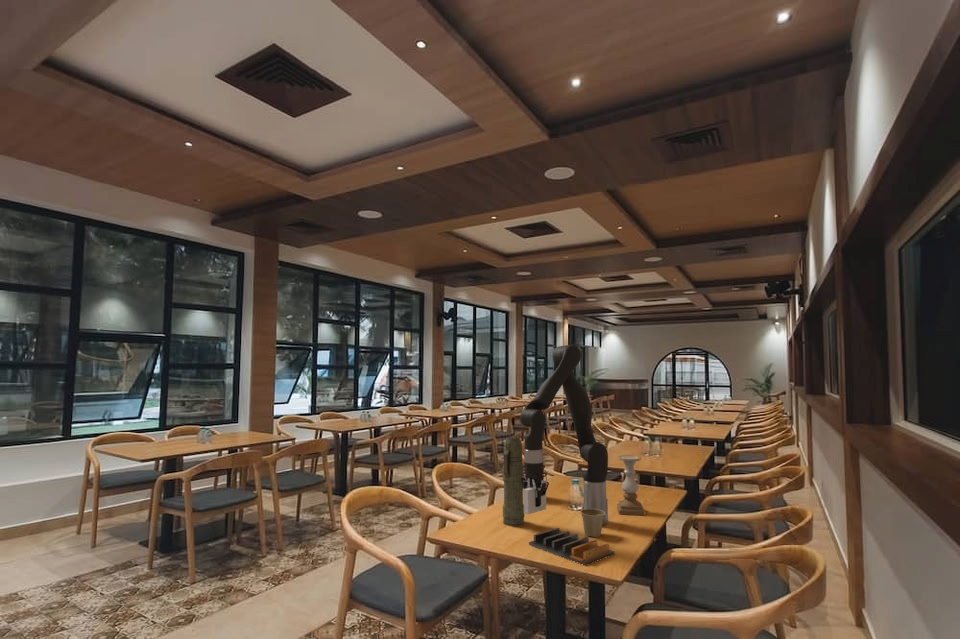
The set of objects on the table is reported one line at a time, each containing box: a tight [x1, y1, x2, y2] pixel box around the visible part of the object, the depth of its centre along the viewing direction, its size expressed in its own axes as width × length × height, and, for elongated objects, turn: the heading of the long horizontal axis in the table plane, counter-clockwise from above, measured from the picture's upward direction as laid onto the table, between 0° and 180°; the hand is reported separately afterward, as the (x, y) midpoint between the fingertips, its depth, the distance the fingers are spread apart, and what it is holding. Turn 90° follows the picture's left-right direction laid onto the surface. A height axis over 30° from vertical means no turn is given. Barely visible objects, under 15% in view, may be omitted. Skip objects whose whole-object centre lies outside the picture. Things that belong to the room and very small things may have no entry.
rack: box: [528, 527, 616, 566], centre depth 191 cm, size 16×26×4 cm, turn 40°
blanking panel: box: [523, 487, 547, 515], centre depth 209 cm, size 10×2×9 cm, turn 130°
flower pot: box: [579, 508, 605, 538], centre depth 208 cm, size 9×9×9 cm
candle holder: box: [616, 454, 646, 516], centre depth 239 cm, size 11×11×24 cm
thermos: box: [502, 436, 525, 527], centre depth 224 cm, size 9×12×35 cm
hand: (535, 505), depth 209 cm, fingers closed on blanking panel, 2 cm apart
